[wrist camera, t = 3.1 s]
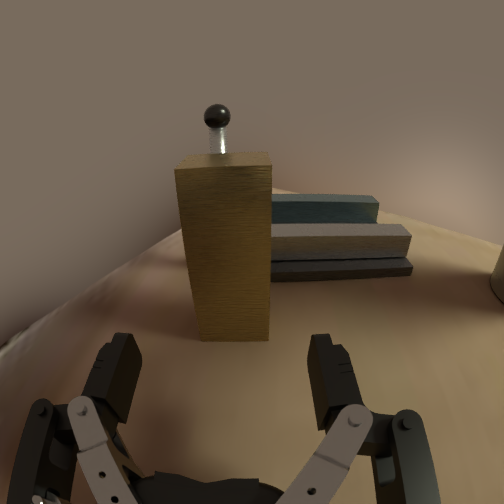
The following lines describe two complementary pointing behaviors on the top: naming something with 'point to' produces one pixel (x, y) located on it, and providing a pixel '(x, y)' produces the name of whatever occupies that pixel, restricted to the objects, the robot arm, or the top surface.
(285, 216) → the vise
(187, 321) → the top surface
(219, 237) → the block
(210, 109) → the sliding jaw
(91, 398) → the robot arm
